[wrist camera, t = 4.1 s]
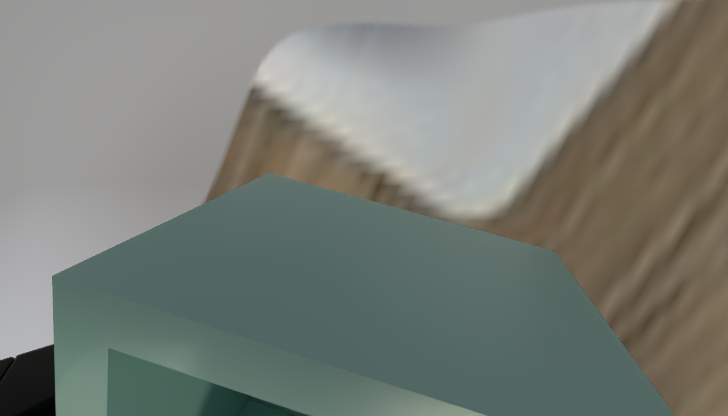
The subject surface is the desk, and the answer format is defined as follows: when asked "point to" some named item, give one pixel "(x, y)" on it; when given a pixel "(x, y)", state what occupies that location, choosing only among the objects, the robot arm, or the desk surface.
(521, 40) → the desk surface
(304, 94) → the desk surface
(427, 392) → the teal crate
